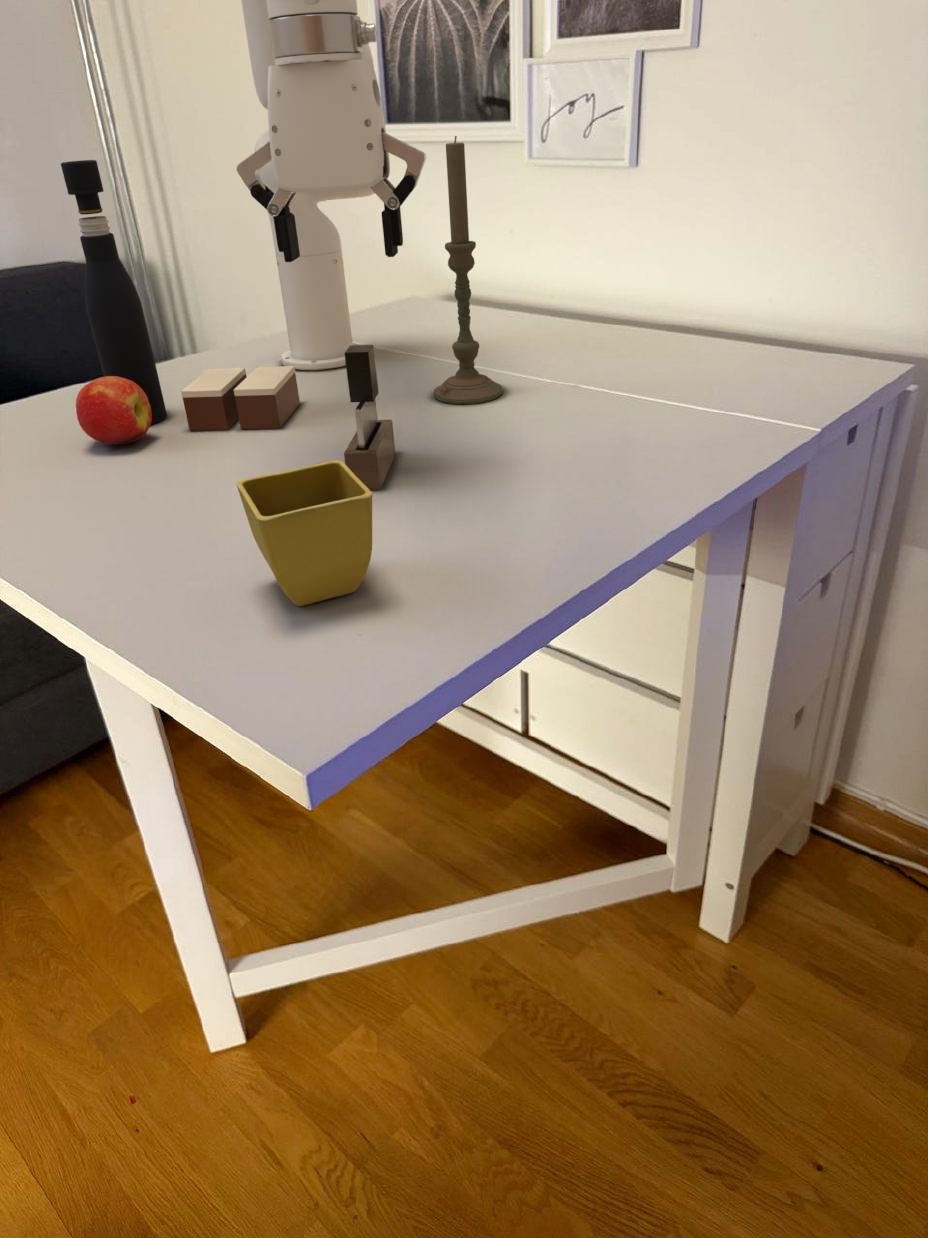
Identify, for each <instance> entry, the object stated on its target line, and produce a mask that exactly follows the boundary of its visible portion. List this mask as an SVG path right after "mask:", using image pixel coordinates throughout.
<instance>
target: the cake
mask: <svg viewBox="0 0 928 1238" xmlns="http://www.w3.org/2000/svg"><path fill="white" fill-rule="evenodd" d="M246 377H247V372H246V367H227V368H226V367H225V368H224V367H223V368H222V367H221V368H207V369H206V370H205V371H204V372H203V373H201V374H200V375H199V376H198V377H196V378H195V379H194V380H193V381H191V382H190V383H189V384H188V385H187V386H185V387H184V388H183V389H182V390H181V391H180V393H181V399H182V402H183V406H184V411H185V415H186V420H187V424H188V425H187V426H188V429H189V431H190V432H195V431H196V432H198V431H201V432H202V431H204V432H205V431H229V430H230V429H231V428H232V427H233V426H234V424H236V422H237V421H239V415H238V410H237V405H236V399H235V394H234V389H235V388H236V387H237V386H238V385H239V384H240V383H241V382H242V381H243V380H244V379H245V378H246Z"/></svg>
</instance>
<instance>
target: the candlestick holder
mask: <svg viewBox="0 0 928 1238" xmlns="http://www.w3.org/2000/svg"><path fill="white" fill-rule="evenodd" d="M465 151H466V150H465V143H464V142H457V135H455V136H454V141H453V142H448V143H446V144H445V158H446V174H447V175H446V176H447V191H448V210H449V225H450V226H449V228H450V241H449V242H446V243H445V244H444V249H445V250H446V252H447V253H448V254H449V258H448V260H447V266H448V268H449V269H450V270H451V271H452V272H453V273H455V275H456V278H455V281H454V284H455V286H454V288H455V289H454V297H455V299H456V301H457V303H456V306H457V315H458V316H457V320H458V325H459V326H458V327H459V332H458V337H457V340H456V341H454V342H453V343H452V345H451V348H452V349H451V350H452V351H453V352H452V353H453V355H454V357H455V359H456V360H457V361H458V368H459V369H458V370H457V371H456V372H455V375H452V376H450V377H448V378H447V379H445V381H443V382H442V383H441V384H440V385H439V386H437V387H435V388H434V390H433V397H434V398H435V400H436V401H439V402H441V403H445V404H448V405H449V404H450V405H474V404H475V405H476V404H483V403H487V402H491V401H493V400H495V399H497V398H499V397H501V396H502V394H503V391H504V389H503V386H502V385H501V384H500V383H499V382H496V381H494V380H493V379H491V377H489V376H487V375H485V374H482V373H480V372H479V371H478V370H477V369H476V367H475V365H476V364H475V359H476V358H477V357H478V355H479V349H480V343H479V341H477V340H475V339H474V337H473V335H472V331H471V319H472V317H471V315H470V314H471V309H470V306H471V304H470V299H471V298H472V289H471V288H470V287H471V285H470V282H471V281H470V279H469V276H468V275H469V272H470V271H471V270H473V268H474V266H475V263H476V262H475V258H474V256H473V255H472V254H473V251H474V250H475V249H476V246H477V243H476V241H474V240H470V233H469V231H470V230H469V214H468V213H469V212H468V211H469V210H468V193H467V191H468V190H467V174H466V173H467V172H466V171H467V170H466V152H465Z"/></svg>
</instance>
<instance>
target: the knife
mask: <svg viewBox="0 0 928 1238" xmlns="http://www.w3.org/2000/svg"><path fill="white" fill-rule="evenodd" d="M374 346H375V345H374V344H357V345H350V347H349V348H348V349H347V350H346V352H345V361H346V366H345V369H346V376H347V385H348V393H349V400H350V403H358V404H357V406H356V407H355V409H354V416H355V424H356V425H355V427H356V431H357V435H358V443H359V450H368V449H369V447H370V445H371V443H372V441H373V439H374V437H375V435H376V433H377V431H378V429H379V426H378V420H379V418H378V409H377V408H378V407H377V396H378V395H379V384H378V383H379V382H378V375H377V365H376V364H377V363H376V357H375V355H376V354H375V347H374Z"/></svg>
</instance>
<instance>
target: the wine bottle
mask: <svg viewBox="0 0 928 1238" xmlns="http://www.w3.org/2000/svg"><path fill="white" fill-rule="evenodd" d="M60 167H61V171H62V175H63V179H64V183H65V187H66V191H67V194H68V195H70V196H74V197H75V200H76V204H77V208H78V214H79V215H96V214H101V213H103V207H102V204H101V201H100V196H99V193H103V192H104V187H103V182H102V178H101V174H100V170H99V165H98V161H97V160H96V159H85V160H72V161H64V162H61V163H60ZM78 221H79V222H78V226H79V227H80V229H79V230H80V233H81V234H82V235H81V236H80V237H79V239H80V244H81V248H82V251H83V255H84V259H85V272H84V299H85V300H84V301H85V310H86V313H87V317H88V321H89V325H90V328H91V333H92V336H93V341H94V344H95V347H96V352H97V355H98V359H99V364H100V367H101V371H102V374H103V377H106V376H117V377H122V378H125V379H128V380H131V381H133V382H134V383H136V384H137V385H138V386H139V387H140V388H141V389H142V390H143V391H144V392H145V394H146V396H147V397H148V402H149V404H150V406H151V411H152V421H151V425H150V426H153V425H156V424H159V423H161V422H163V421H165V420H166V419H167V418H168V413H167V409H166V408H167V407H166V404H165V400H164V395H163V391H162V387H161V381H160V378H159V374H158V373H159V372H158V369H157V365H156V361H155V355H154V351H153V348H152V343H151V340H150V339H151V338H150V335H149V330H148V326H147V322H146V317H145V314H144V309H143V304H142V301H141V298H140V295H139V292H138V290H137V288H136V286H135V284H134V282H133V280H132V277H131V276H130V274H129V273H128V271H127V268H126V267H125V265H124V264H123V262H122V260H121V259H120V256H119V252H118V251H119V250H118V248H117V243H116V239H115V236H114V233H112V232H110V230H111V227H110V226H109V220H107V216H106V215H96V216H86V217H81V218H78Z"/></svg>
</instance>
